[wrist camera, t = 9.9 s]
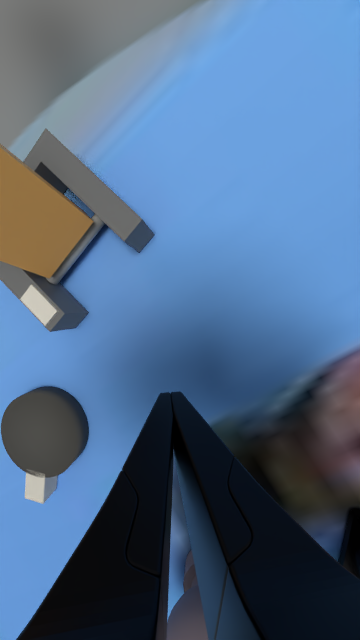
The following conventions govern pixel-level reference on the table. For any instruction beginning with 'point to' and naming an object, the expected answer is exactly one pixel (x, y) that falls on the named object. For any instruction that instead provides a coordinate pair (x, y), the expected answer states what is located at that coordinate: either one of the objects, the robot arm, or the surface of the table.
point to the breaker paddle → (35, 219)
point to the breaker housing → (109, 209)
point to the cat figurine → (188, 609)
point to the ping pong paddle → (44, 437)
